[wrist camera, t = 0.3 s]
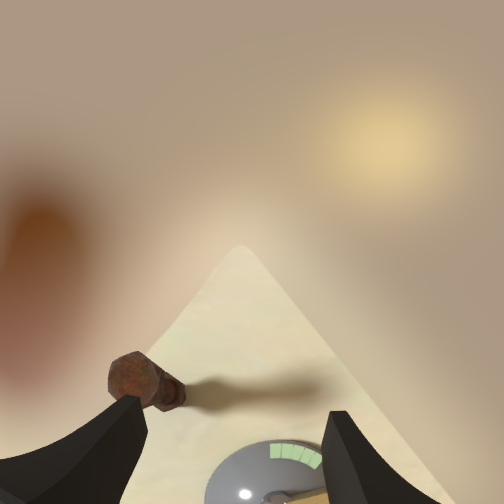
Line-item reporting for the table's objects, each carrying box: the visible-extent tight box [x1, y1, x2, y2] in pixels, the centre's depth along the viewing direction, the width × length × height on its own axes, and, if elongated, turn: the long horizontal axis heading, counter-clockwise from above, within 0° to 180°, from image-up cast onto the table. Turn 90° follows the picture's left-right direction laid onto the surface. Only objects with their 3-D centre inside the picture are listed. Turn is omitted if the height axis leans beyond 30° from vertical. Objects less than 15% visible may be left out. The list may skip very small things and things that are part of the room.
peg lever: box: [261, 487, 329, 504], centre depth 28 cm, size 11×4×3 cm, turn 101°
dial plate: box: [205, 440, 326, 504], centre depth 30 cm, size 18×18×1 cm
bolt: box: [108, 351, 186, 412], centre depth 31 cm, size 6×5×15 cm
